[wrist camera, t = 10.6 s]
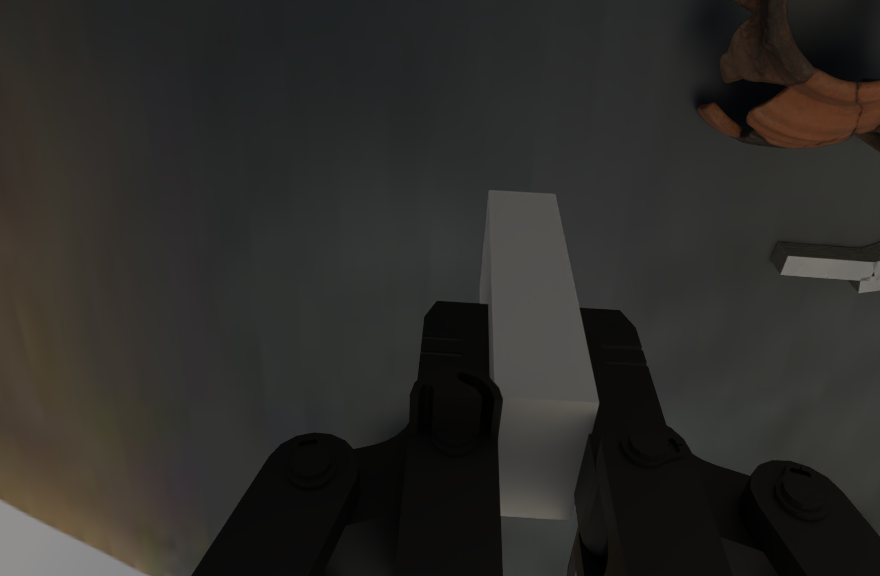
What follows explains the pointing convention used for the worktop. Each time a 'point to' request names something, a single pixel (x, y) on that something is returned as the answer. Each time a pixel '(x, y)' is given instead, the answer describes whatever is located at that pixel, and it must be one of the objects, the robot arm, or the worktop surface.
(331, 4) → the worktop surface
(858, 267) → the grey u-shaped piece
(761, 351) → the worktop surface
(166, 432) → the worktop surface
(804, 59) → the pottery mug
